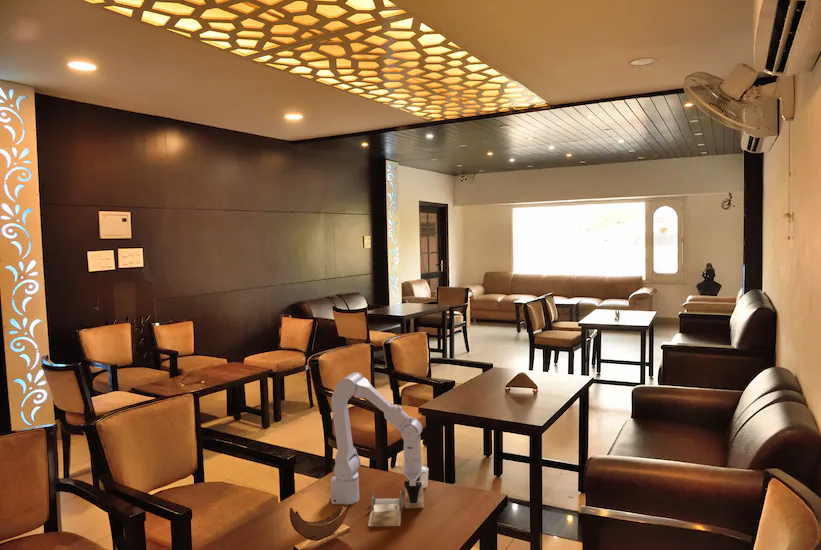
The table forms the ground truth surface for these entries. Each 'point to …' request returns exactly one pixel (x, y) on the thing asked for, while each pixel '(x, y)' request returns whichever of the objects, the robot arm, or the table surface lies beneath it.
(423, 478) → the white cylinder
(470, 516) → the table surface
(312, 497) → the table surface
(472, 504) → the table surface
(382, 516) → the offcut upper
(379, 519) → the offcut lower
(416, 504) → the birch block
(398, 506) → the rack
